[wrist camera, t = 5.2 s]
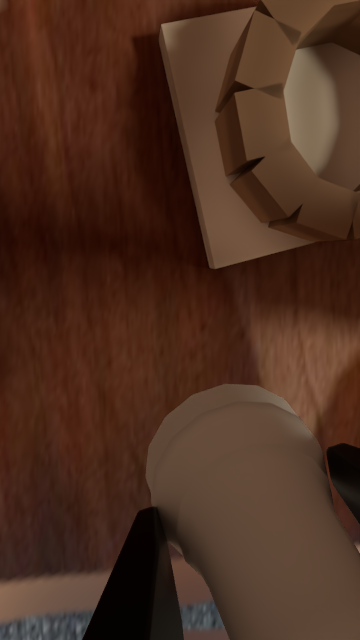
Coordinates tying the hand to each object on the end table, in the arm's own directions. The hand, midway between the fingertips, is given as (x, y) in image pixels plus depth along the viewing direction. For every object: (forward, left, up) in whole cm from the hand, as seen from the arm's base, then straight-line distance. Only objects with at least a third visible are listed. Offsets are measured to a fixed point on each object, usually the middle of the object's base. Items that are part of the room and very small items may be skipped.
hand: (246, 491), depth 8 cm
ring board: (-10, -9, -12) cm, 18 cm away
